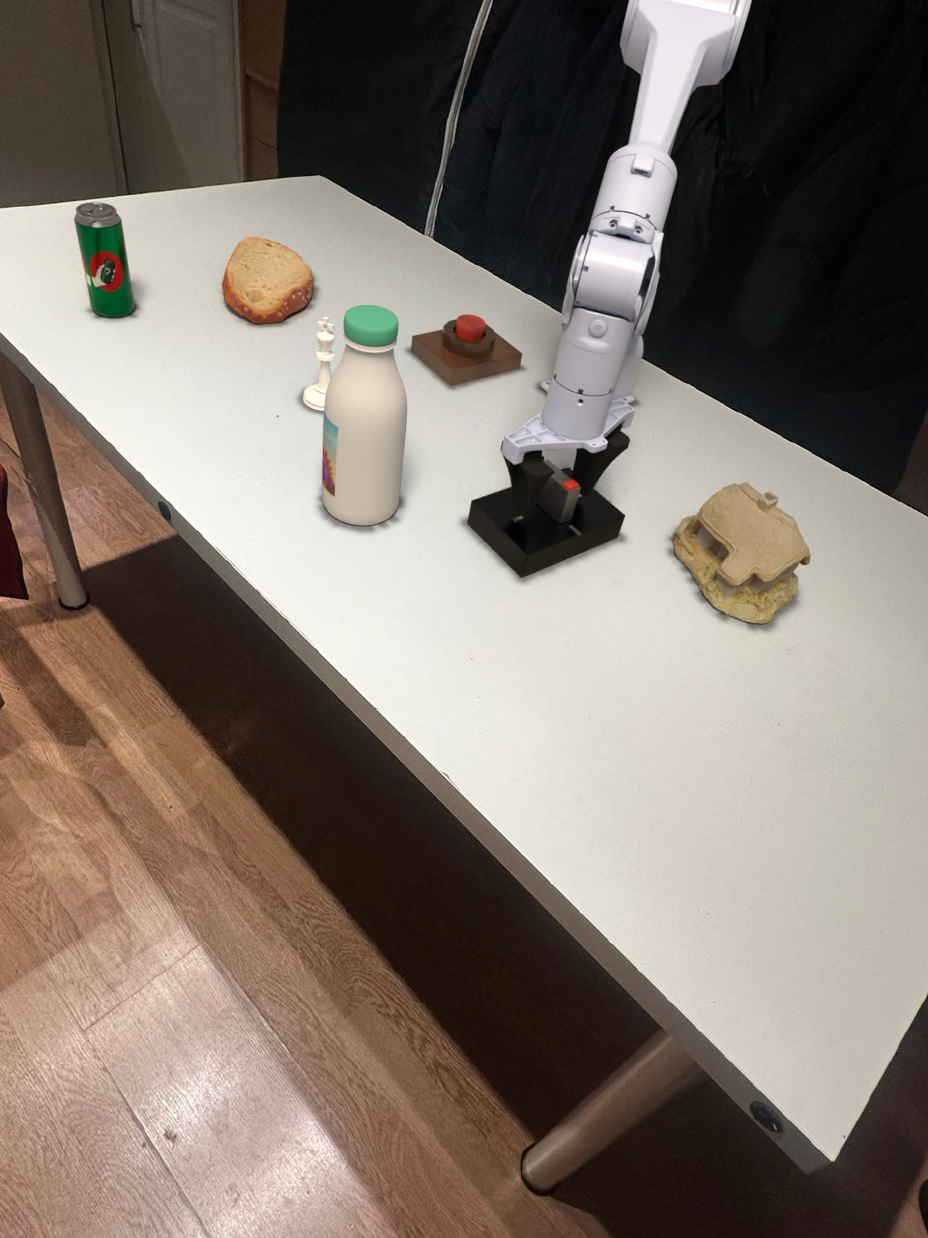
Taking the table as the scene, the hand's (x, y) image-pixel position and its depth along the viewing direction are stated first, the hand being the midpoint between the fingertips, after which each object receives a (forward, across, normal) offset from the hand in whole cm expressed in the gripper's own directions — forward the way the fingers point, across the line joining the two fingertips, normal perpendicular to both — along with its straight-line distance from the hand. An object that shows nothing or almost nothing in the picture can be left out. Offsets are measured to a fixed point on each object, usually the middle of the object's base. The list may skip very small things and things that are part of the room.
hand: (551, 501), depth 81 cm
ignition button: (0, +13, +31) cm, 33 cm away
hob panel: (+4, 0, 0) cm, 4 cm away
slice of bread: (+4, -2, +58) cm, 58 cm away
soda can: (+4, -22, +58) cm, 62 cm away
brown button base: (+4, +12, +31) cm, 34 cm away
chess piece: (+4, -8, +30) cm, 31 cm away
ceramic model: (+4, +14, -14) cm, 20 cm away
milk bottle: (+4, -14, +12) cm, 19 cm away
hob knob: (+1, 0, 0) cm, 1 cm away
